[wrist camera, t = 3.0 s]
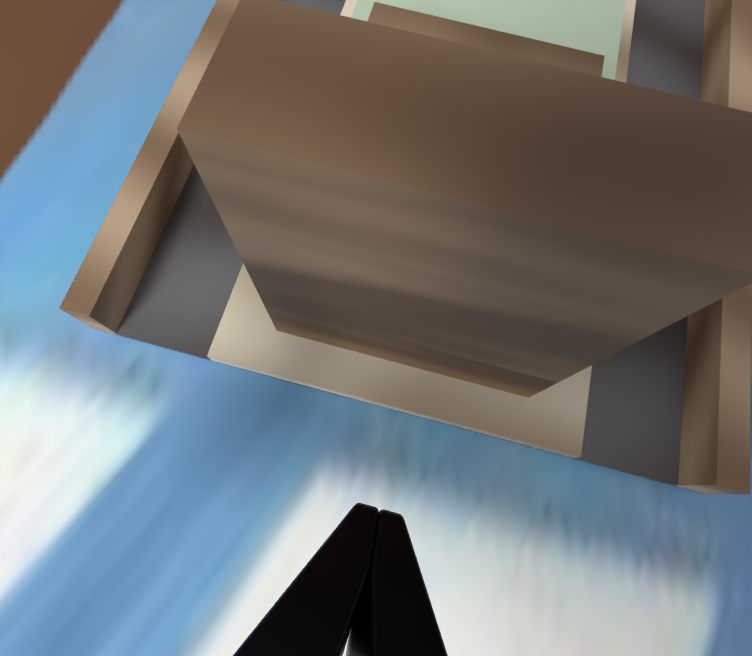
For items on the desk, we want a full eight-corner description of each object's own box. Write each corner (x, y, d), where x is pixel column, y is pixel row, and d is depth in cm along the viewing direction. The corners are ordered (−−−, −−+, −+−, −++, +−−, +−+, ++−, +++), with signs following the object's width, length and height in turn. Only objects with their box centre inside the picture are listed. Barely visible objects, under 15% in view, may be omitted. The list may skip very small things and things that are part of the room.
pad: (607, 110, 21) (611, 104, 21) (342, 46, 21) (342, 40, 21) (626, -31, 24) (630, -38, 23) (391, -85, 24) (392, -91, 24)
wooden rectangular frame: (703, 493, 16) (766, 494, 14) (92, 328, 17) (47, 301, 15) (723, -16, 24) (765, -74, 22) (303, -112, 25) (297, -177, 23)
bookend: (528, 397, 16) (765, 275, 7) (276, 330, 17) (176, 128, 7) (575, 105, 21) (765, -222, 11) (372, 56, 21) (386, -301, 11)
